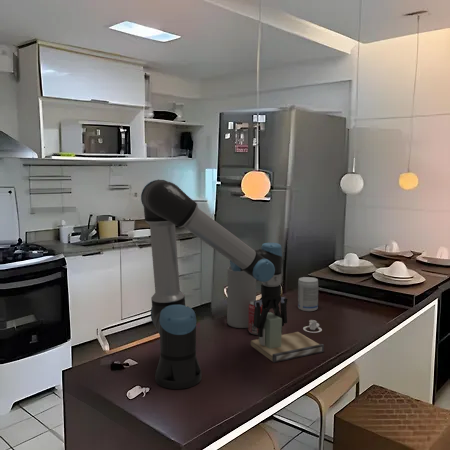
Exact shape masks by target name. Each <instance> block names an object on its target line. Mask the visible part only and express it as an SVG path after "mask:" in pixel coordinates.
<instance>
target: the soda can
mask: <svg viewBox="0 0 450 450" xmlns="http://www.w3.org/2000/svg"><path fill="white" fill-rule="evenodd" d="M259 300H260V299H259ZM259 300H257V299H256V300H255V301H259ZM262 306H263V304H261V312H262ZM254 311H255V306H254V301H251V302H250V304H249V328H248V332H249V334H250V335H254V336H258V328H256V327H255V326H253V324H254ZM260 314H261V313H260Z"/></svg>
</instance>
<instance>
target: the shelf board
mask: <svg viewBox="0 0 450 450" xmlns="http://www.w3.org/2000/svg"><path fill="white" fill-rule="evenodd" d="M250 346H251V347H252V348H254V349H255V350H256V351H257V352H259V353H260V354H262V355H263V356H264V357H265V358H267V359H269V360H270V361H271V362H273V363H279V362H283V361H288V360H292V359H297V358H301V357H307V356H311V355H315V354H320V353H324V352H325V344H323V343H318V342H316V341H315V340H313V339H311V338H309V337H307V336H306V335H304V334H303V333H301V332H299V331H295V332H289V333H284V334H282V335H281V347H277V348H272V349H269V348H268V347H266V346H263V345H261V344H260V342H259V338H258V339H257V338H256V339H253V340H250Z"/></svg>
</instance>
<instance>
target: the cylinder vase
mask: <svg viewBox="0 0 450 450" xmlns="http://www.w3.org/2000/svg"><path fill="white" fill-rule="evenodd" d="M226 270H227V274H226V277H227V280H226V281H227V283H226V284H227V285H226V287H227V288H226V289H227V293H226V296H227V299H226V302H227V303H226V305H227V306H226V308H227V311H226V314H227V315H226V316H227V317H226V322H227V325H228V326H229V327H232V328H234V329H235V328H236V329H249V304H250V302H251V301H255V300H257V280H256V279H255V278H254V277H252V276H251V275H249V274H248V273H246V272H245V271H241V272H239V271H233V270H232V269H231V266H228V267H227V269H226Z"/></svg>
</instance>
